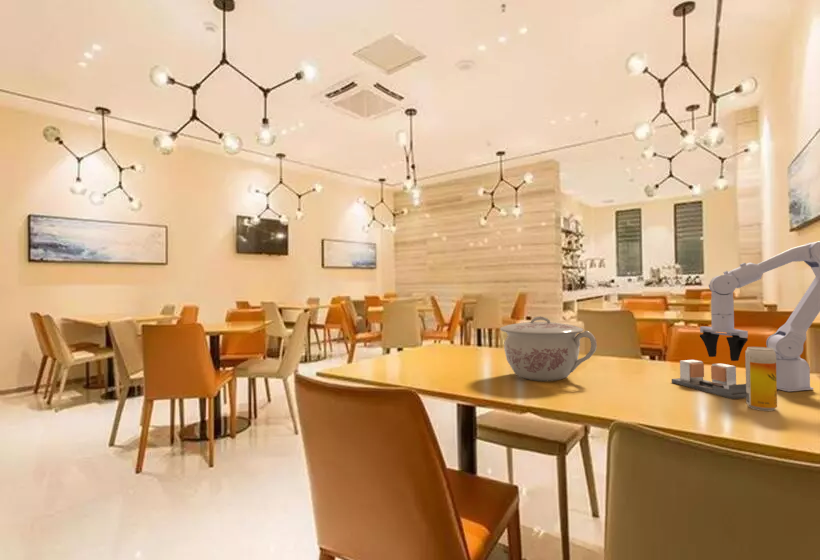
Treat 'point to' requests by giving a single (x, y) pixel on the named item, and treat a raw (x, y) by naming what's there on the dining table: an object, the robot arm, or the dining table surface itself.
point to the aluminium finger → (723, 374)
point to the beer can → (761, 378)
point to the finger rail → (694, 379)
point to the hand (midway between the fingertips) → (723, 358)
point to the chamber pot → (544, 349)
